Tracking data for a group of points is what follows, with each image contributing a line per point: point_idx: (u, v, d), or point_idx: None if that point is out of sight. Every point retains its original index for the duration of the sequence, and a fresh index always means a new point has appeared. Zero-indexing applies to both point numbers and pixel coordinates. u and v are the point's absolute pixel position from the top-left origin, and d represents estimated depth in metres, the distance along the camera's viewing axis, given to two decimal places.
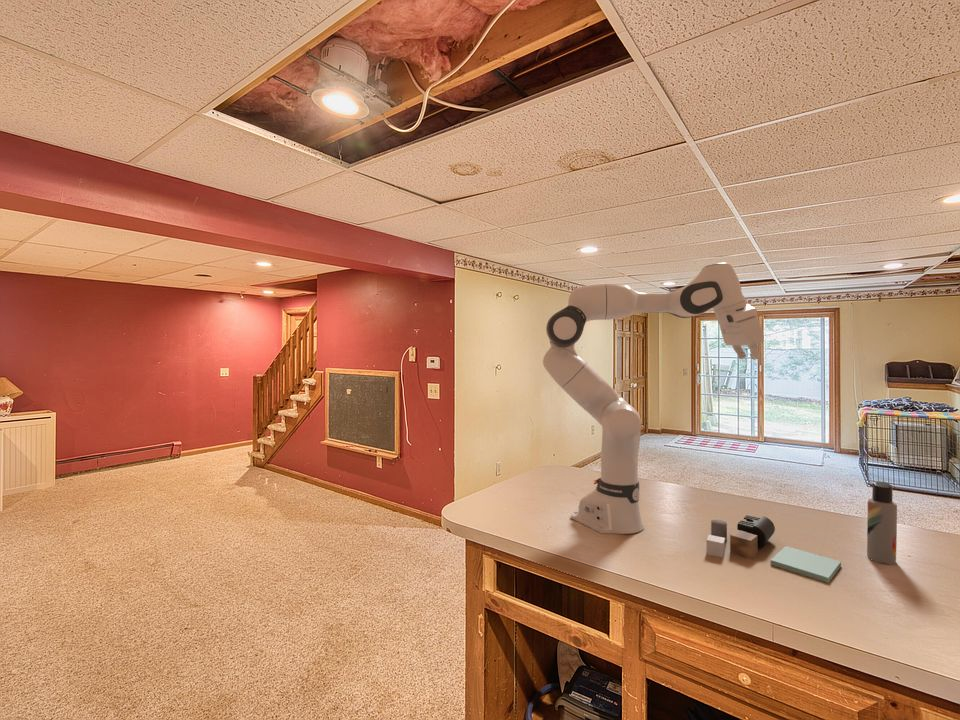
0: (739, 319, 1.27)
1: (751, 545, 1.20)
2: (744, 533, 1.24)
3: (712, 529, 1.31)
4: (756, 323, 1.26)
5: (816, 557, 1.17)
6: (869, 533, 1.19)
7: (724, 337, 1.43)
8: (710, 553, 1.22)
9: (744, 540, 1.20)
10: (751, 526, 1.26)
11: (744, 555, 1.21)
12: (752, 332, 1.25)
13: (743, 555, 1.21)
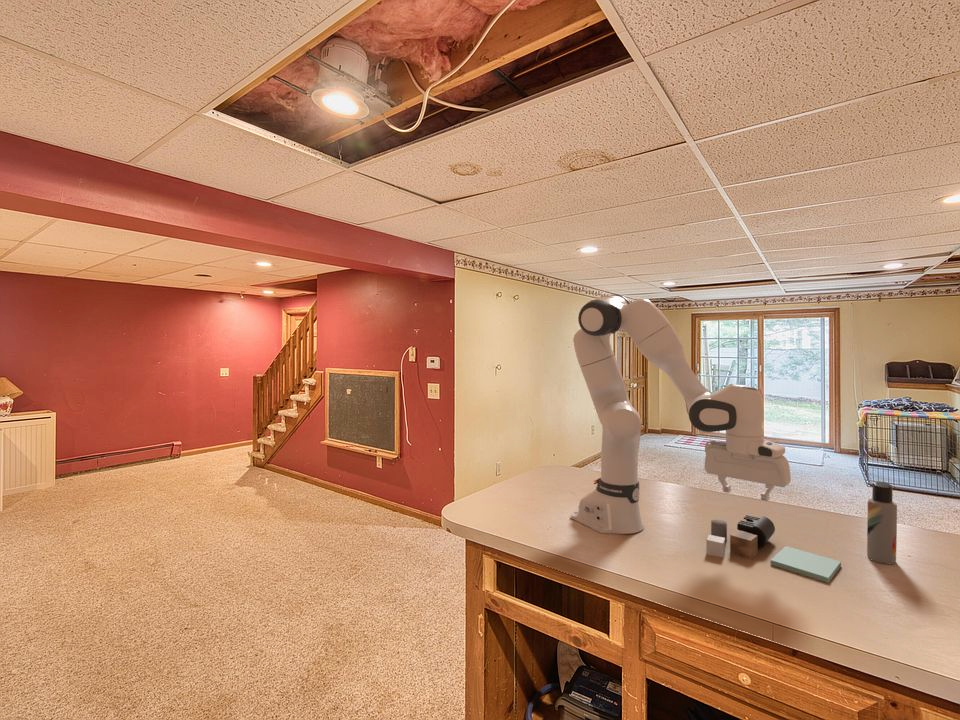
0: (779, 455, 1.14)
1: (751, 545, 1.20)
2: (744, 533, 1.24)
3: (712, 529, 1.31)
4: (788, 464, 1.16)
5: (816, 557, 1.17)
6: (869, 533, 1.19)
7: (711, 464, 1.27)
8: (710, 553, 1.22)
9: (744, 540, 1.20)
10: (751, 526, 1.26)
11: (744, 555, 1.21)
12: (787, 473, 1.14)
13: (743, 555, 1.21)
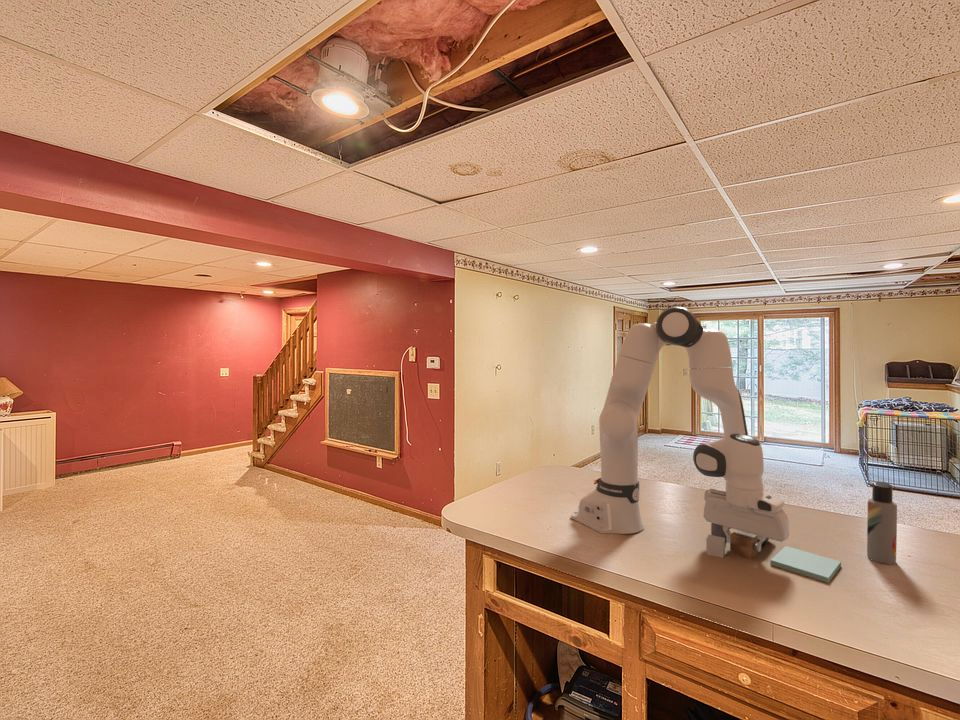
0: (778, 510, 1.15)
1: (751, 545, 1.20)
2: (744, 533, 1.24)
3: (712, 529, 1.31)
4: (786, 518, 1.16)
5: (816, 557, 1.17)
6: (869, 533, 1.19)
7: (710, 513, 1.28)
8: (710, 553, 1.22)
9: (744, 540, 1.20)
10: None
11: (744, 555, 1.21)
12: (786, 528, 1.15)
13: (743, 555, 1.21)
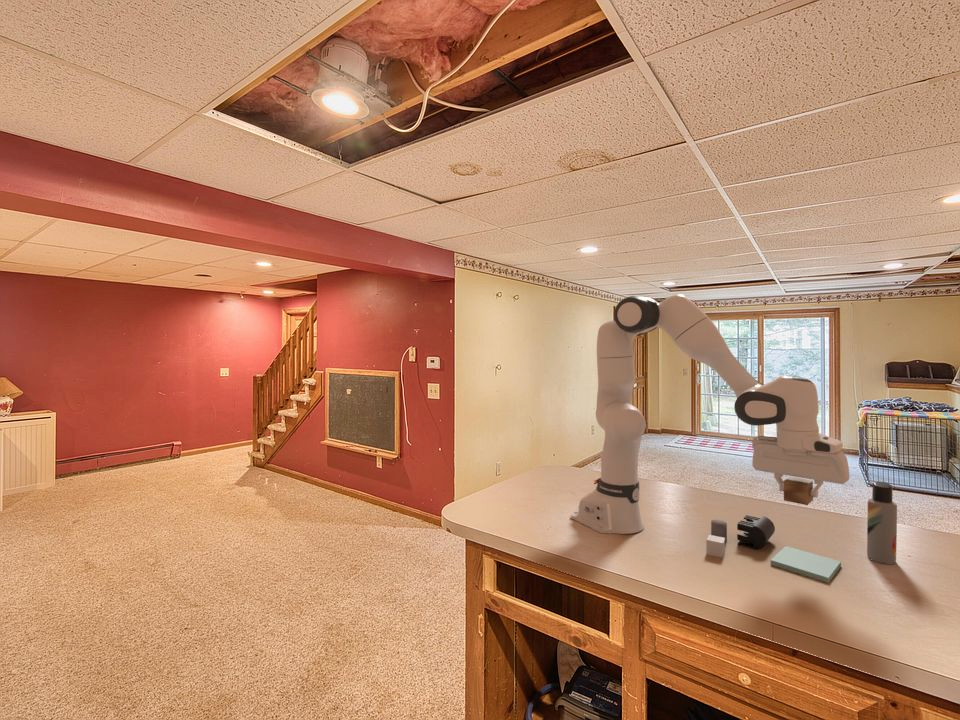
0: (837, 451, 1.08)
1: (807, 490, 1.13)
2: (798, 479, 1.17)
3: (712, 529, 1.31)
4: (846, 459, 1.09)
5: (816, 557, 1.17)
6: (869, 533, 1.19)
7: (759, 460, 1.21)
8: (710, 553, 1.22)
9: (800, 486, 1.13)
10: (751, 526, 1.26)
11: (800, 501, 1.14)
12: (846, 469, 1.08)
13: (799, 501, 1.14)
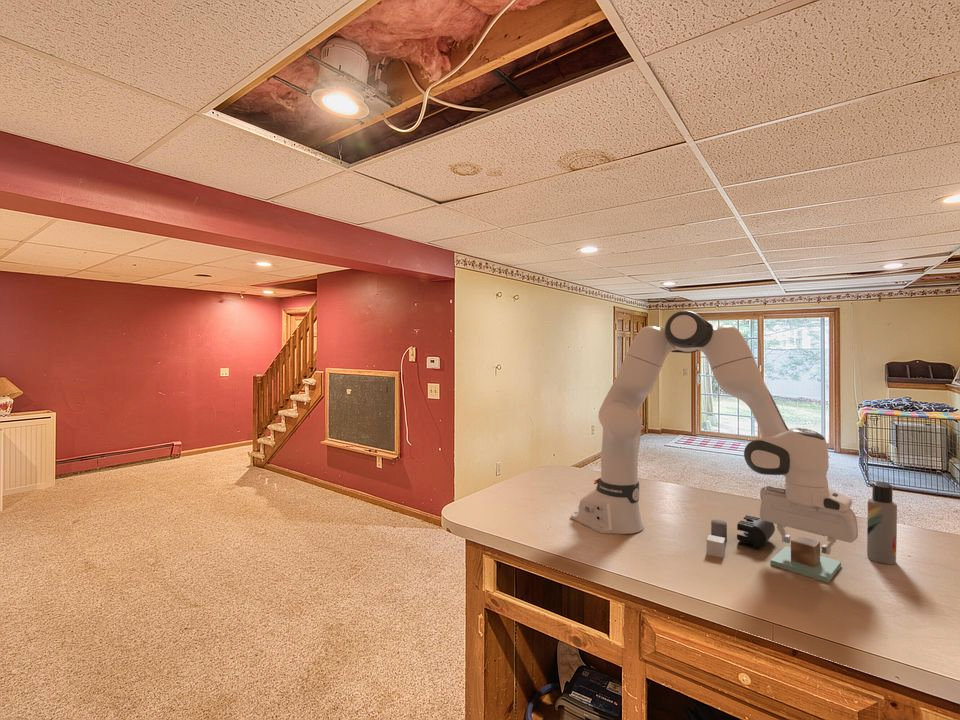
0: (847, 509, 1.07)
1: (815, 552, 1.12)
2: (805, 539, 1.17)
3: (712, 529, 1.31)
4: (855, 517, 1.09)
5: None
6: (869, 533, 1.19)
7: (767, 511, 1.20)
8: (710, 553, 1.22)
9: (808, 547, 1.13)
10: (751, 526, 1.26)
11: (807, 563, 1.13)
12: (855, 528, 1.08)
13: (806, 563, 1.14)
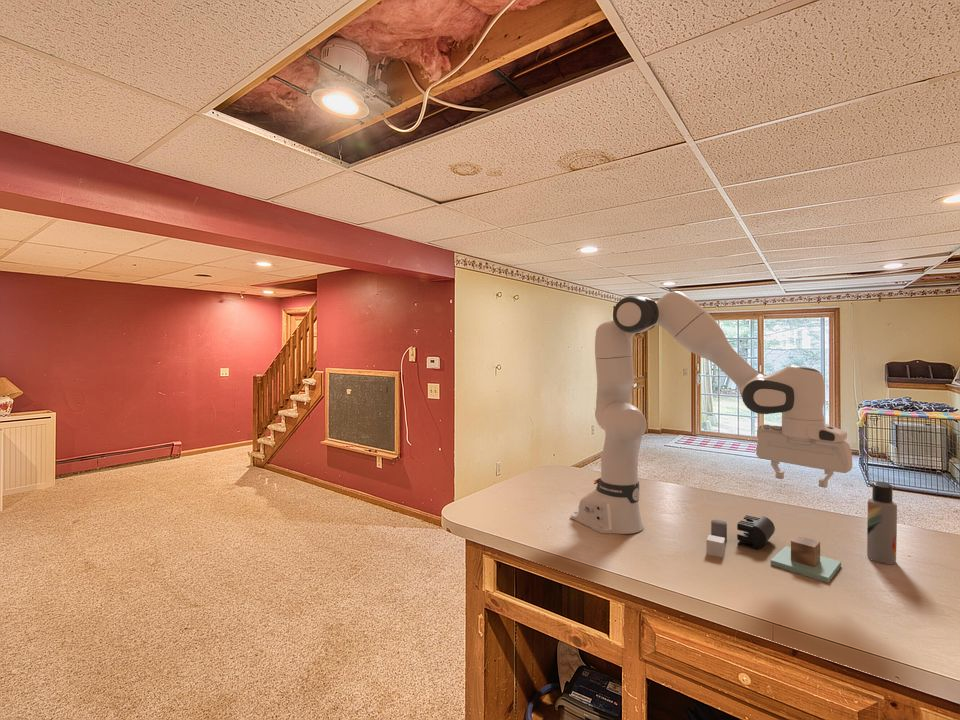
0: (841, 440, 1.09)
1: (815, 552, 1.12)
2: (805, 539, 1.17)
3: (712, 529, 1.31)
4: (850, 449, 1.10)
5: None
6: (869, 533, 1.19)
7: (763, 449, 1.22)
8: (710, 553, 1.22)
9: (808, 547, 1.13)
10: (751, 526, 1.26)
11: (807, 563, 1.13)
12: (849, 459, 1.09)
13: (806, 563, 1.14)
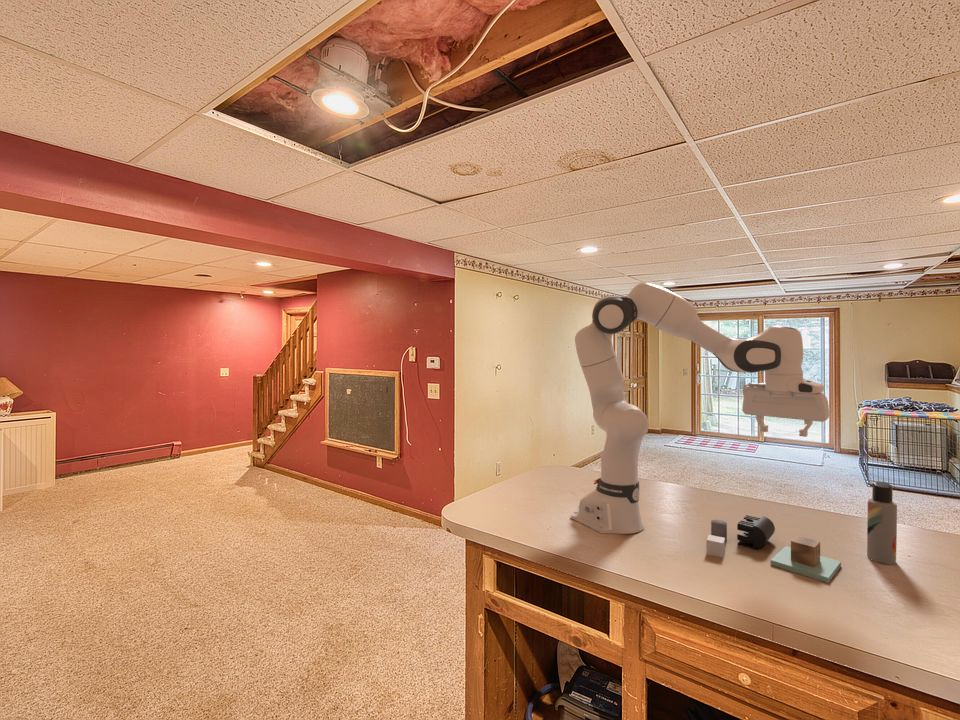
0: (819, 391, 1.19)
1: (815, 552, 1.12)
2: (805, 539, 1.17)
3: (712, 529, 1.31)
4: (826, 400, 1.21)
5: None
6: (869, 533, 1.19)
7: (749, 405, 1.32)
8: (710, 553, 1.22)
9: (808, 547, 1.13)
10: (751, 526, 1.26)
11: (807, 563, 1.13)
12: (826, 408, 1.19)
13: (806, 563, 1.14)
